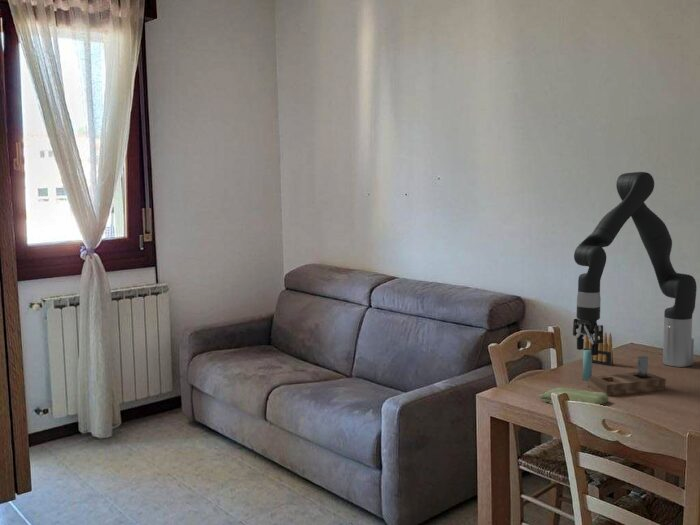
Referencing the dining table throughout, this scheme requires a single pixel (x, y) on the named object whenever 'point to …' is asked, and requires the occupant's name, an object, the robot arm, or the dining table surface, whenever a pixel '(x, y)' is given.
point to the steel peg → (642, 367)
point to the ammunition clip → (601, 351)
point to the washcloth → (578, 395)
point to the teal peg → (587, 365)
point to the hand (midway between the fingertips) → (587, 352)
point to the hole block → (626, 383)
